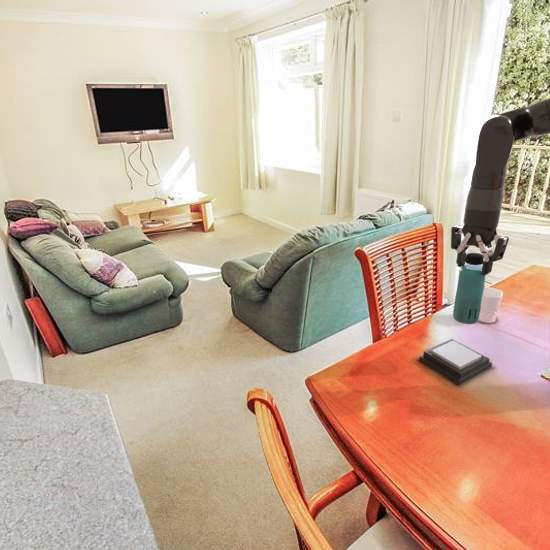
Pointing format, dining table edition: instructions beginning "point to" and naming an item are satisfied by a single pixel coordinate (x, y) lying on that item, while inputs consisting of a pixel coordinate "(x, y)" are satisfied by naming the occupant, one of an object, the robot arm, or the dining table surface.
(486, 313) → the white cup
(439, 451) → the dining table surface
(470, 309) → the beverage bottle
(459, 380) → the scale
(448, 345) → the pan
